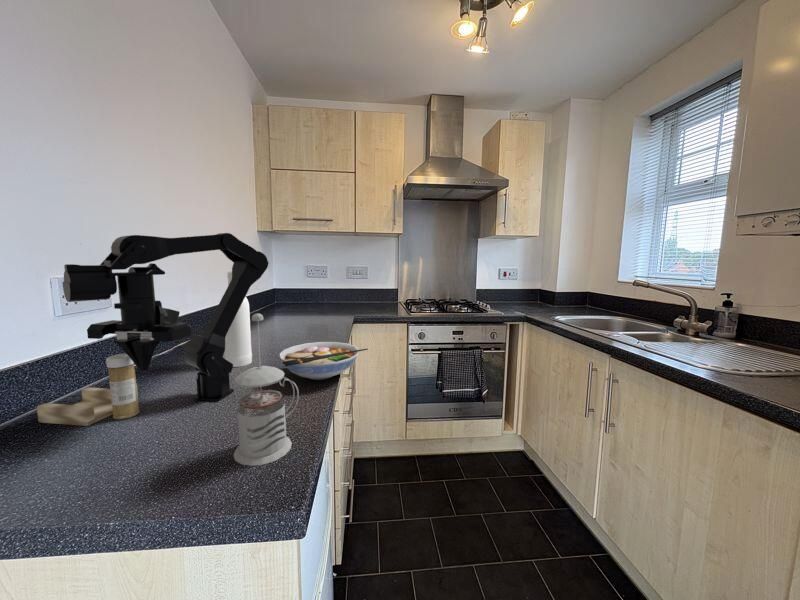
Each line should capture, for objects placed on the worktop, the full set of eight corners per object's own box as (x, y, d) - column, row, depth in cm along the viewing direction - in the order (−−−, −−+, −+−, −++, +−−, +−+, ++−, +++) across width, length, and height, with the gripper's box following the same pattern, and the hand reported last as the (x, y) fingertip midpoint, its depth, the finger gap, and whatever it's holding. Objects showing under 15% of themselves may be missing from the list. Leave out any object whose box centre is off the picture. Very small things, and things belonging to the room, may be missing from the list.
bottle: (251, 365, 103) (246, 272, 99) (223, 368, 100) (217, 272, 96) (252, 358, 111) (248, 271, 107) (226, 361, 108) (221, 271, 104)
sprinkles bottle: (141, 408, 73) (136, 351, 72) (137, 417, 69) (131, 357, 68) (115, 413, 71) (109, 354, 69) (109, 422, 67) (102, 360, 65)
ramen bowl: (341, 358, 112) (341, 335, 111) (377, 378, 94) (377, 351, 93) (266, 372, 97) (265, 346, 96) (290, 400, 79) (289, 367, 78)
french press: (225, 447, 59) (217, 313, 56) (286, 425, 67) (282, 306, 64) (245, 473, 52) (236, 321, 49) (310, 445, 60) (307, 312, 57)
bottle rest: (133, 404, 76) (131, 390, 75) (87, 426, 66) (85, 409, 65) (89, 401, 77) (88, 387, 76) (38, 422, 67) (36, 406, 67)
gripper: (207, 294, 73) (211, 360, 75) (132, 292, 75) (138, 357, 77) (167, 300, 62) (173, 377, 64) (80, 297, 64) (89, 373, 66)
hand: (144, 370), depth 68 cm, fingers closed
